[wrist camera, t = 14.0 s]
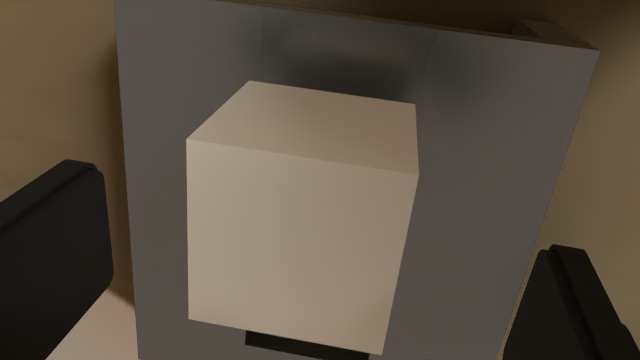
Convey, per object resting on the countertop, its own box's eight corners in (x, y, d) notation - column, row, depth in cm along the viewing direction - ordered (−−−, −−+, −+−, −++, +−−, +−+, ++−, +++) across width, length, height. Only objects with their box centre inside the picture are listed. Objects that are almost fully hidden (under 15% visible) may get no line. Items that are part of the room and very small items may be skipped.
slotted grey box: (181, -26, 23) (112, -13, 18) (552, 21, 21) (600, 50, 16) (186, 284, 30) (138, 359, 25) (461, 334, 29) (473, 425, 24)
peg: (300, 32, 23) (186, 139, 11) (412, 47, 23) (419, 175, 11) (292, 136, 25) (188, 319, 13) (393, 151, 25) (381, 355, 13)
